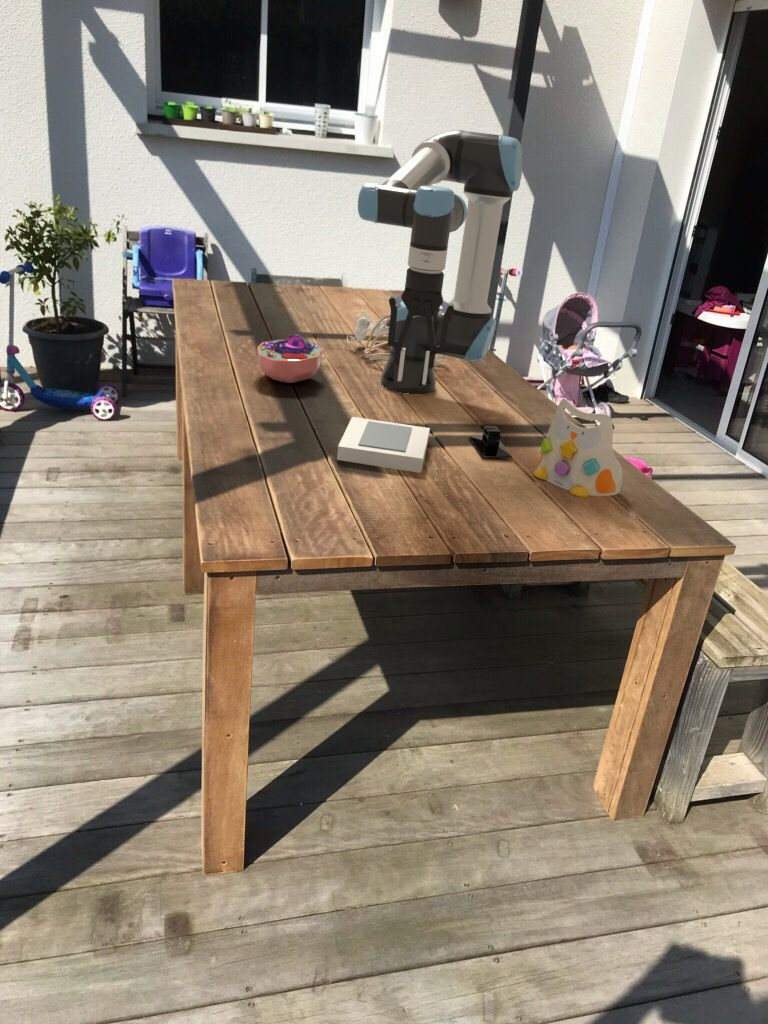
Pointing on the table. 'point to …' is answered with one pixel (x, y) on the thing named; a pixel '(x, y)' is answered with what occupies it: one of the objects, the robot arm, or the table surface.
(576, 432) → the shape sorter
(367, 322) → the plant holder
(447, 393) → the table surface
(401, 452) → the plinth
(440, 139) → the robot arm
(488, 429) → the black stand
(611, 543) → the table surface
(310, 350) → the cell model
